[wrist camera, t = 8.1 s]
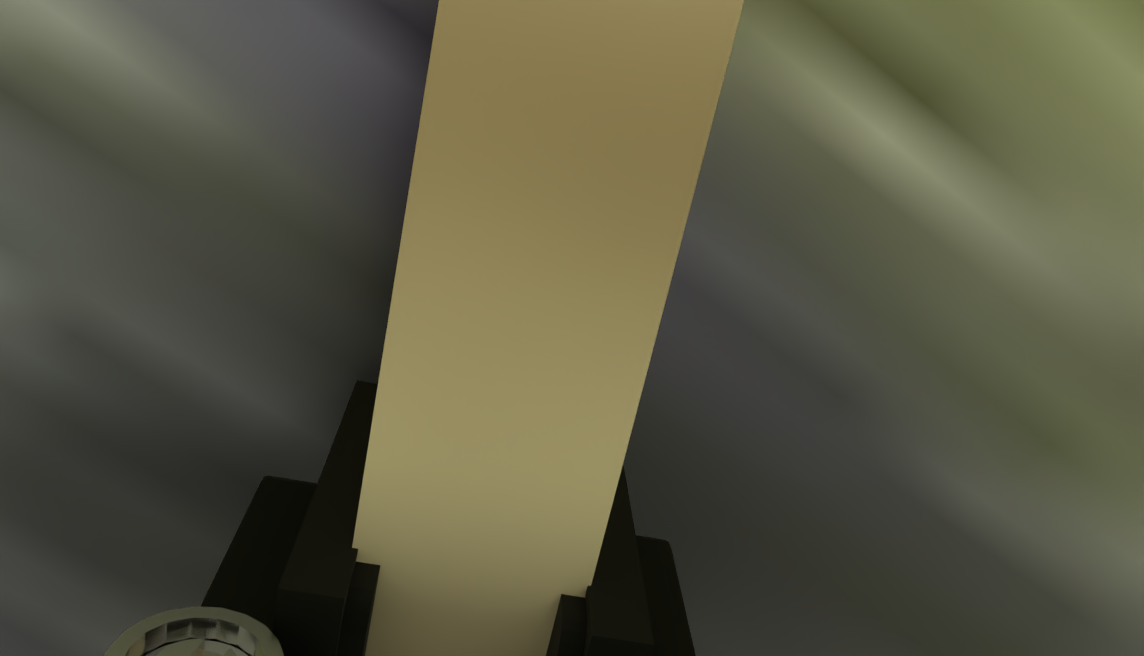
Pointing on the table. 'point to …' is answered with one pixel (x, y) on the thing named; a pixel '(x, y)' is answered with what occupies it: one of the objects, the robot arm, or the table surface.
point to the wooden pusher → (528, 306)
